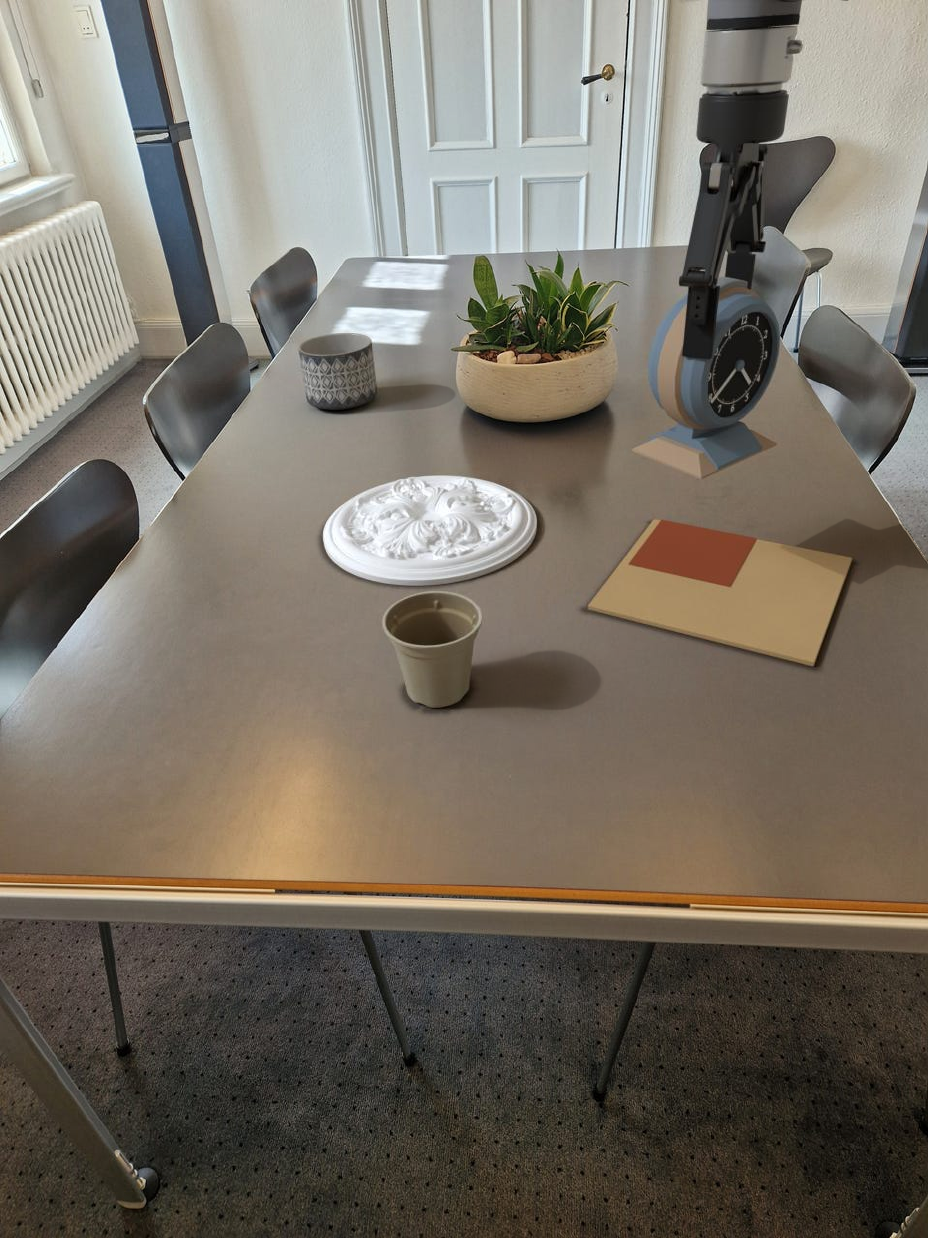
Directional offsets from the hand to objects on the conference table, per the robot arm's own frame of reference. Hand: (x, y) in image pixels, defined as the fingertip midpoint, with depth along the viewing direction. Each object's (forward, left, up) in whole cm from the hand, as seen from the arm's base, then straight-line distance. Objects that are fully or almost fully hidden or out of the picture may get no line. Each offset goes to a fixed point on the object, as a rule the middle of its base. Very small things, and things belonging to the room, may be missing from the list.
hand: (716, 337), depth 86 cm
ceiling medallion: (+33, +5, -27) cm, 43 cm away
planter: (+72, -29, -27) cm, 82 cm away
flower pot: (+15, +33, -27) cm, 45 cm away
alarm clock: (0, 0, -12) cm, 12 cm away
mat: (-5, +3, -27) cm, 27 cm away
